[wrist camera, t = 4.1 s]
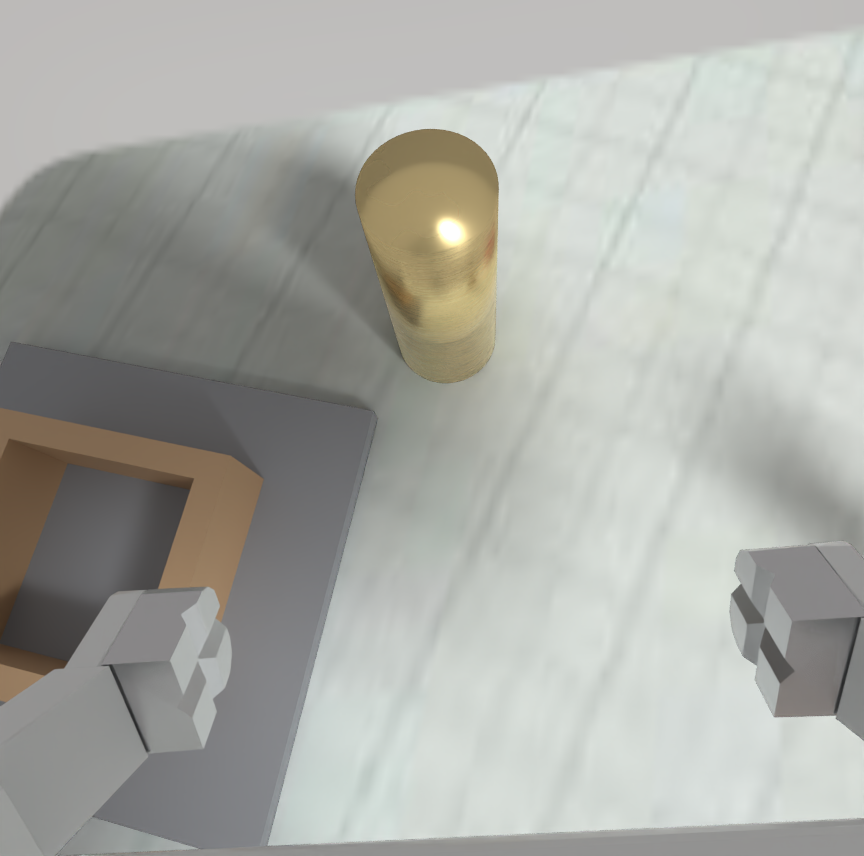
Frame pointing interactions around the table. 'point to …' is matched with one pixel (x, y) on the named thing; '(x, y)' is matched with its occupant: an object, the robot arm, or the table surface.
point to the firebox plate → (177, 554)
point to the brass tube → (434, 248)
